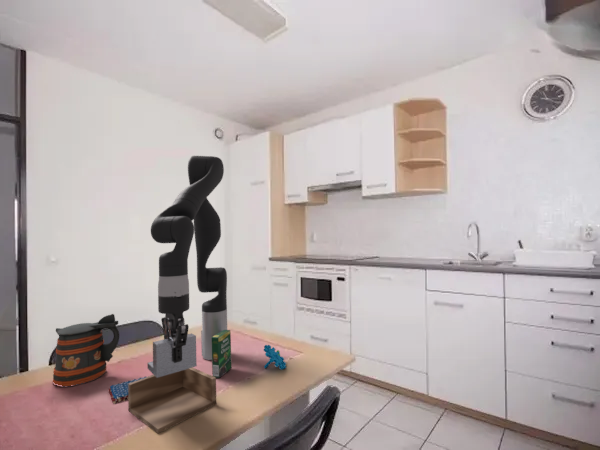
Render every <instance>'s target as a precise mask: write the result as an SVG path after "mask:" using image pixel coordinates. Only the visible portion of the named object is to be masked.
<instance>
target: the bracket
mask: <svg viewBox="0 0 600 450" xmlns="http://www.w3.org/2000/svg"><path fill="white" fill-rule="evenodd" d="M179 341H180V340H179ZM172 348H173V347H172V339H170V338H169V339H164V338H163V339H160V340H155V341H152V361H149V362H147V370H148V371H149V372H150V373H151V374H152V375H154V376H155V377H156V378H158V377H162V376H165V375H169V374H172V373H175V372H179V371H182V370H186V369H189V368H192V367H193V368H195V367H197V366H198V365H197V335H196V334H193V333H188V334H187V341H186V345H184V346H182V361H180V362H177V363H174V362H173V358H172Z"/></svg>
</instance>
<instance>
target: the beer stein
mask: <svg viewBox="0 0 600 450" xmlns="http://www.w3.org/2000/svg"><path fill="white" fill-rule="evenodd" d="M117 325H119V320H116V316H115V314H114V313H111V314H108V315H107V314H106V315H105V316H103V317H101V318H100V319H99V321H97V322H84V323H83V322H82V323H76V324H72V325H69V326H66V327H63V328H57V327H56V328H55V332H56V334H57V335H58V338H57V342H56V347H55V353H56V357H55V366H54V368H53V374H52V376H53V377H52V383H53V382H54V383H55V384H58V385H62V386H71V385H75V386H77V385H76V384H79V385H82V384H81V383H83V384H86V383H89V381H90V382H92V381H95V380H97V379H98V378H101V377H102V376H103V375H105V374H106V371H107V364H108V363H107V362H110V361H111V359H112V358H113V357H114V355H113V353H114V351H115V349H116V348H117V345H119V341H120V332H119V329H118V327H117ZM105 329H106V330H110V331H111V332H112V333H113V338H112V341H110V342H108V343H105V339H104V336H103V330H105ZM85 382H86V383H85Z"/></svg>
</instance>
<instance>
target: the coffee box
mask: <svg viewBox="0 0 600 450" xmlns="http://www.w3.org/2000/svg"><path fill="white" fill-rule="evenodd" d="M231 336H232V335H231V330H230V329H227V330H223V331H221V332H220V333H218V334H216V335H215V336H213V337H212V360H211V365H212V366H211V368H212V376H213V377H216V379H220V378H221V377H223V376H224V375H225V374H226V373H228V372H229V371H230V370H231V369H232V365H233V364H232V339H231V338H232V337H231Z"/></svg>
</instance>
